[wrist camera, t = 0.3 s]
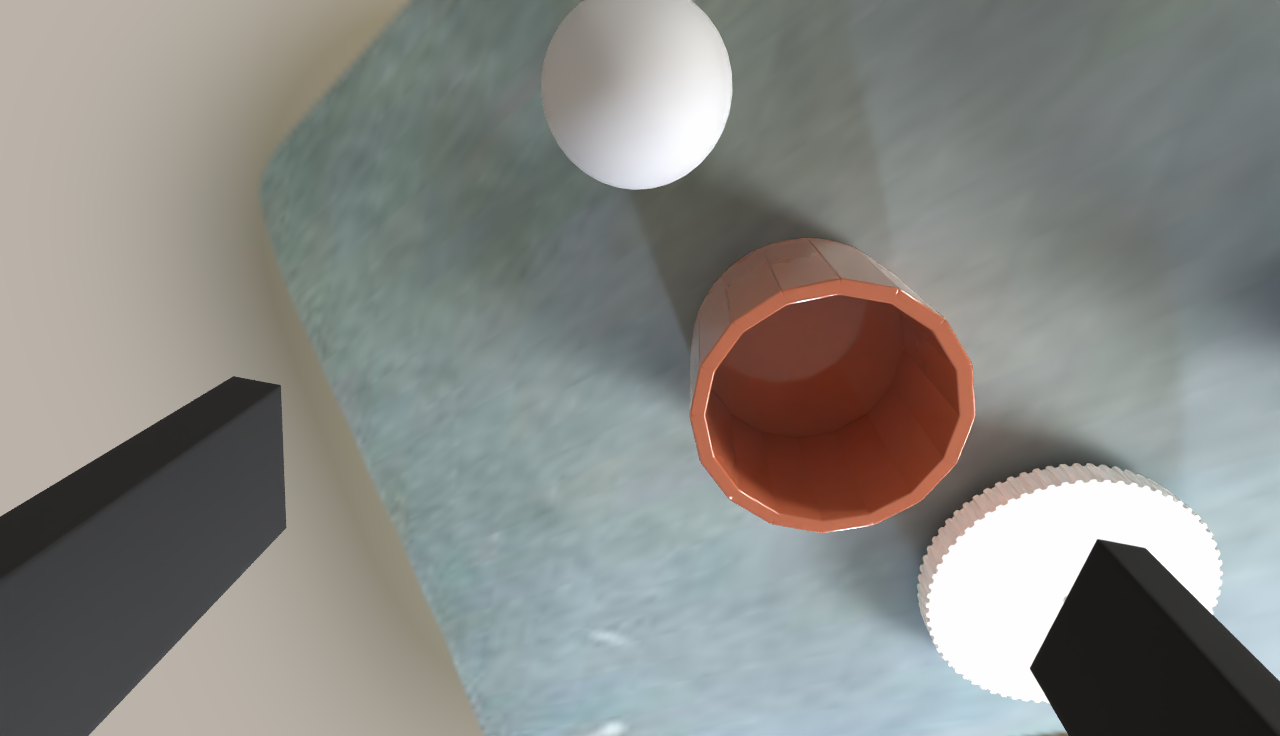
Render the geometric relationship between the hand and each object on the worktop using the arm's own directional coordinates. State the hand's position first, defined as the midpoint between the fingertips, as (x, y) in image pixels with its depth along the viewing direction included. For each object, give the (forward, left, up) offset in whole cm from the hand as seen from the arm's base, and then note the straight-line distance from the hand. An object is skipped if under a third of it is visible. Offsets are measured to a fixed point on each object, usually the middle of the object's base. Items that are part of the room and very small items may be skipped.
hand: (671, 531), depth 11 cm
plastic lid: (+14, +22, -22) cm, 34 cm away
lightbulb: (-6, -3, -22) cm, 23 cm away
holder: (+4, +6, -22) cm, 23 cm away
